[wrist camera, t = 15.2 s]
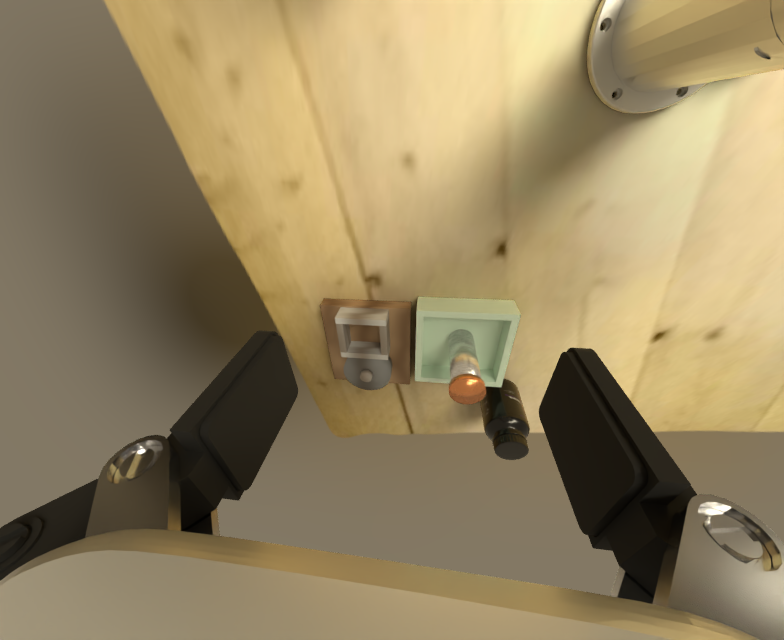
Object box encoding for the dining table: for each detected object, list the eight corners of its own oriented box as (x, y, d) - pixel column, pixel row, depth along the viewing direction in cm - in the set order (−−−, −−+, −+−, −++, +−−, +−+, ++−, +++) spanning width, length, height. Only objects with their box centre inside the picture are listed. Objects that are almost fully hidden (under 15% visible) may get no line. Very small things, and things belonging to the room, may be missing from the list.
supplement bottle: (521, 378, 49) (542, 440, 39) (513, 403, 53) (531, 466, 43) (480, 375, 50) (491, 435, 40) (475, 401, 54) (485, 462, 44)
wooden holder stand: (411, 302, 43) (408, 322, 39) (410, 376, 52) (408, 399, 48) (324, 298, 45) (311, 317, 40) (337, 371, 54) (328, 393, 49)
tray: (514, 300, 41) (521, 315, 38) (496, 370, 49) (501, 387, 45) (417, 296, 43) (416, 310, 39) (416, 364, 50) (414, 381, 47)
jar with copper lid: (477, 328, 43) (489, 380, 34) (473, 351, 46) (483, 405, 37) (447, 326, 44) (450, 378, 35) (445, 349, 46) (447, 402, 37)
